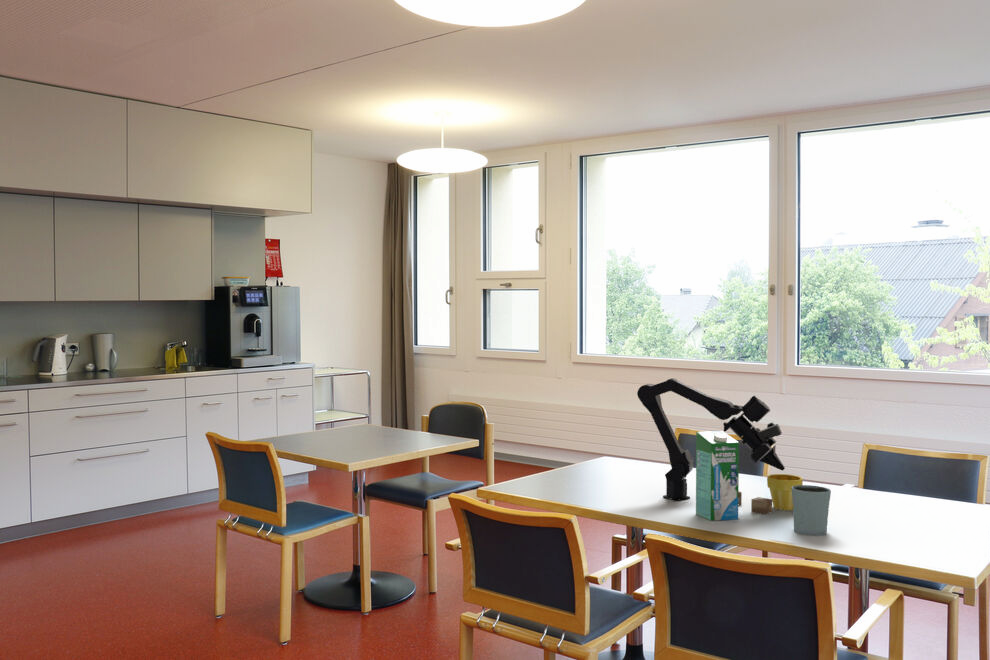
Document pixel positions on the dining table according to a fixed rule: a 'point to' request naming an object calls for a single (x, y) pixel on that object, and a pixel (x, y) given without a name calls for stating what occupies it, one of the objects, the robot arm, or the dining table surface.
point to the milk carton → (717, 476)
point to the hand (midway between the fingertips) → (783, 469)
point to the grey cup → (810, 509)
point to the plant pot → (782, 489)
